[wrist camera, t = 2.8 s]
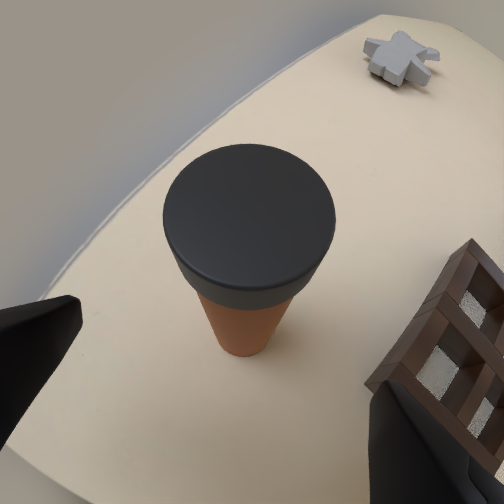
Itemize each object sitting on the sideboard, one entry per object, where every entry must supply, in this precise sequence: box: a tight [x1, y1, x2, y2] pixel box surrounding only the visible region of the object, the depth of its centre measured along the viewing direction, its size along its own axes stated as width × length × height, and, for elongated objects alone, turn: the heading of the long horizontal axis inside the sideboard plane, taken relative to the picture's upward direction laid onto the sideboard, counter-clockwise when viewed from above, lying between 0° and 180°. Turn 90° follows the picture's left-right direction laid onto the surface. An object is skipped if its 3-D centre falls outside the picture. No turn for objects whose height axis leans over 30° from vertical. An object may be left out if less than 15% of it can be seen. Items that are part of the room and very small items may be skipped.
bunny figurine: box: [363, 31, 440, 87], centre depth 30 cm, size 10×5×15 cm
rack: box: [364, 238, 504, 476], centre depth 15 cm, size 13×13×3 cm
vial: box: [163, 144, 336, 357], centre depth 12 cm, size 4×4×13 cm
